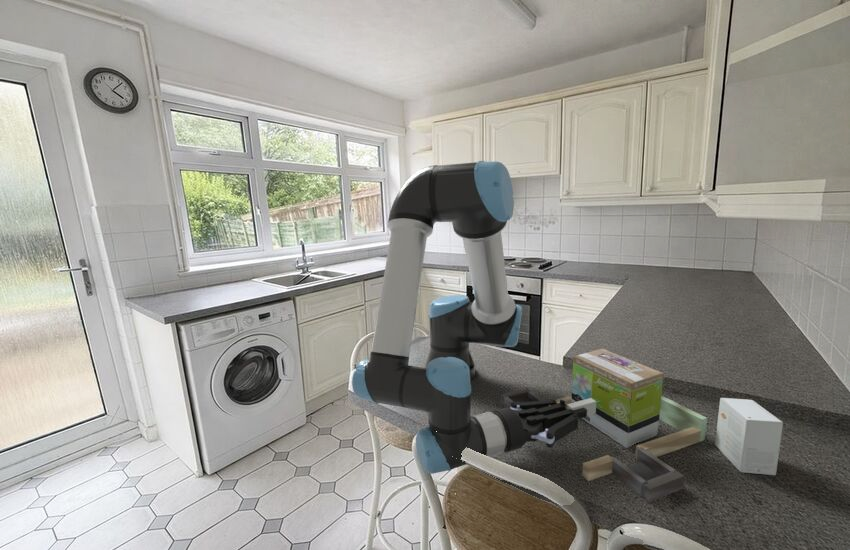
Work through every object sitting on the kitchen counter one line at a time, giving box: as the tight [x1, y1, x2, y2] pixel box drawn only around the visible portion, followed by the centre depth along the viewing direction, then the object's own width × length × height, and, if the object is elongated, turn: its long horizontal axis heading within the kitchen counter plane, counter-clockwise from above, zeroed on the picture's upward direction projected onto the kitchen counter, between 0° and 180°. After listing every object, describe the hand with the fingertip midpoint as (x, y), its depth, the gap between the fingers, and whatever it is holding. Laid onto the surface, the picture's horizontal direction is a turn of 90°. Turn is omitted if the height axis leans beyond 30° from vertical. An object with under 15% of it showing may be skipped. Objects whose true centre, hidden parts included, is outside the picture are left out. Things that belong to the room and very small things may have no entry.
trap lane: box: [500, 388, 708, 503], centre depth 77 cm, size 36×31×5 cm
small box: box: [714, 397, 784, 476], centre depth 66 cm, size 8×6×10 cm
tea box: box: [570, 347, 664, 449], centre depth 78 cm, size 15×10×15 cm
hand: (593, 405), depth 75 cm, fingers closed
